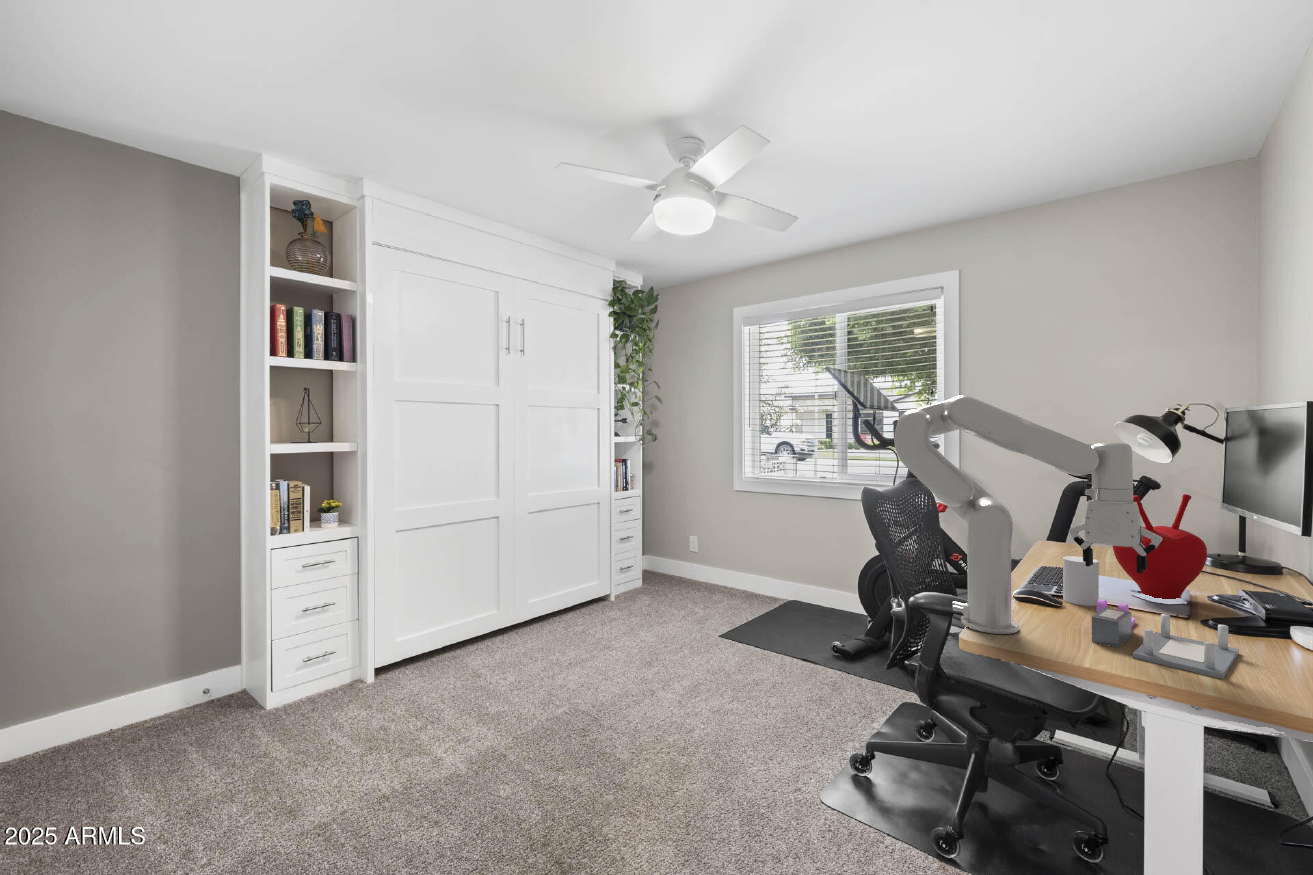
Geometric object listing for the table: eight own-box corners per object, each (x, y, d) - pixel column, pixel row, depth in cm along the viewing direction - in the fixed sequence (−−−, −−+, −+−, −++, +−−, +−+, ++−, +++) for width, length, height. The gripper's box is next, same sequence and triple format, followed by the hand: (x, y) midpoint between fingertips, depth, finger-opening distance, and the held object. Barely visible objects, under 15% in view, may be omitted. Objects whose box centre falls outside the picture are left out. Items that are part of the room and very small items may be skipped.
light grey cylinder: (1105, 605, 160) (1105, 562, 160) (1076, 605, 161) (1076, 562, 160) (1084, 597, 169) (1084, 556, 168) (1056, 597, 169) (1056, 556, 169)
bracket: (1125, 634, 139) (1124, 605, 139) (1096, 628, 143) (1096, 600, 143) (1137, 622, 147) (1136, 594, 147) (1109, 616, 152) (1109, 590, 151)
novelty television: (1173, 591, 173) (1173, 491, 172) (1218, 605, 160) (1218, 496, 159) (1107, 594, 171) (1107, 492, 171) (1147, 607, 158) (1147, 498, 158)
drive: (1091, 642, 134) (1091, 616, 134) (1105, 631, 141) (1105, 606, 141) (1118, 648, 130) (1118, 621, 130) (1131, 637, 137) (1131, 611, 137)
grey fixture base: (1132, 657, 125) (1132, 629, 125) (1155, 635, 137) (1155, 610, 137) (1222, 679, 114) (1222, 648, 114) (1238, 653, 126) (1238, 626, 126)
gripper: (1063, 494, 139) (1065, 565, 140) (1156, 499, 126) (1158, 578, 126) (1073, 491, 144) (1075, 560, 144) (1164, 496, 131) (1166, 572, 131)
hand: (1114, 568), depth 135 cm, fingers open, 9 cm apart
